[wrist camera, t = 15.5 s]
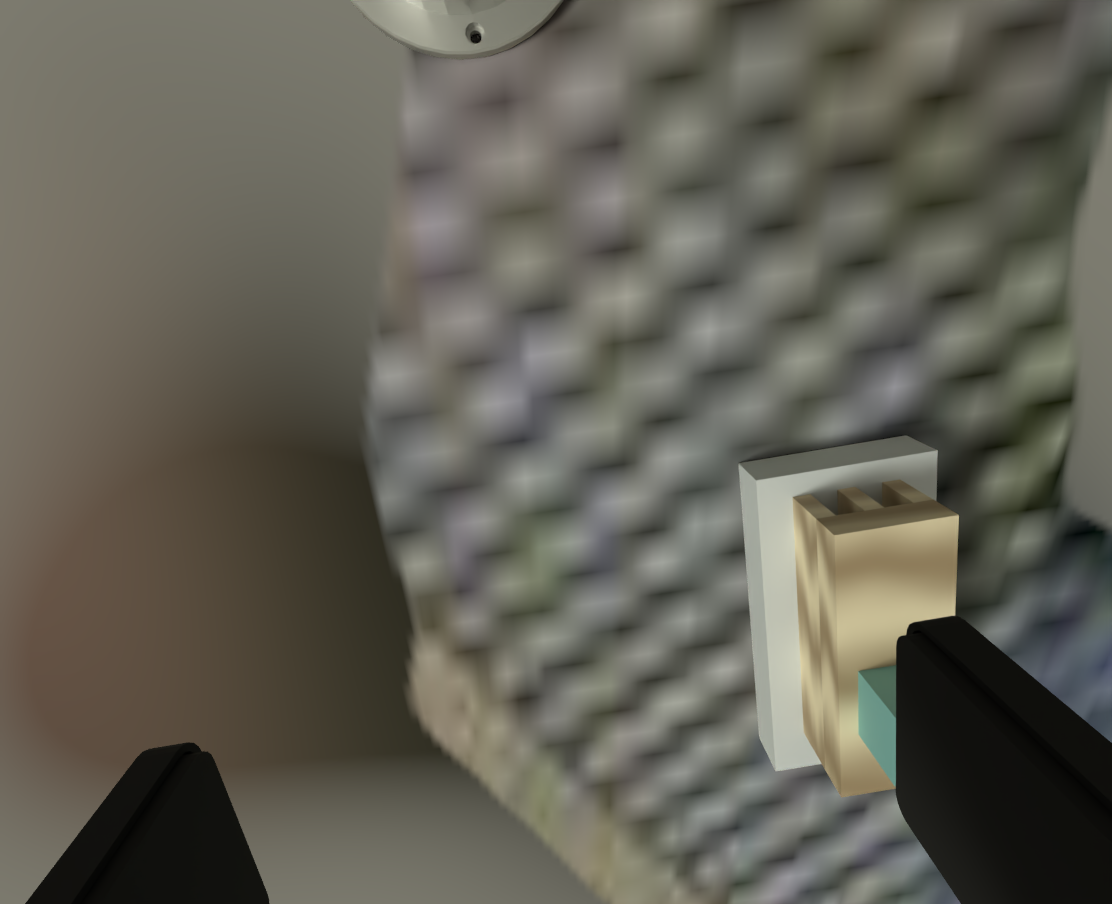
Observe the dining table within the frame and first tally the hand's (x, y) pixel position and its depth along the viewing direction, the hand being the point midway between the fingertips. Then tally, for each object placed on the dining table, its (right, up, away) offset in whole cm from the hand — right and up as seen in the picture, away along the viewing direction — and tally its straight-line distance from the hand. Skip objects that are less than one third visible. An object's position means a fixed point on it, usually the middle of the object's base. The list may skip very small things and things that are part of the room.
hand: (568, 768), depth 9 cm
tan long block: (+17, -5, +29) cm, 34 cm away
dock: (+17, -5, +32) cm, 37 cm away
